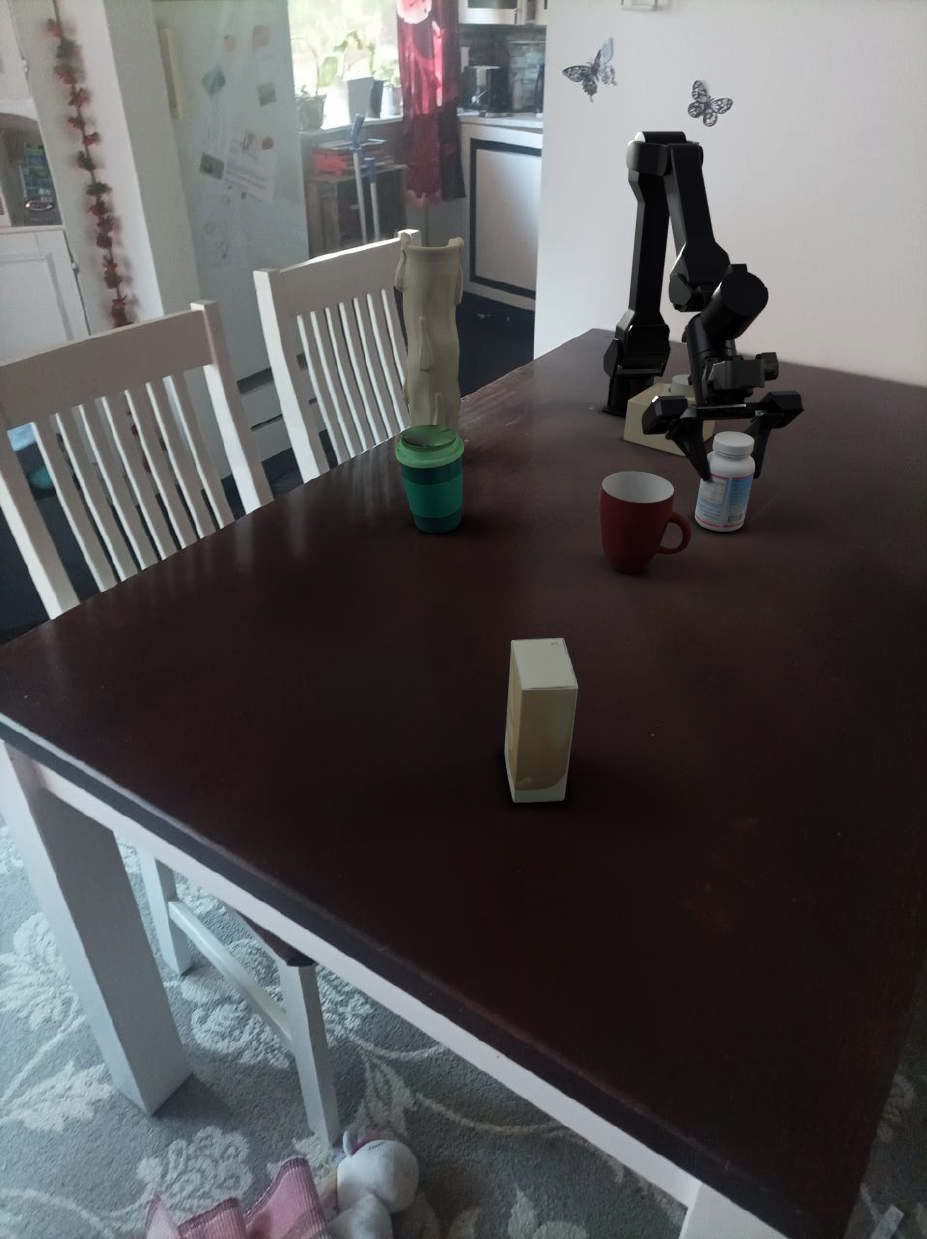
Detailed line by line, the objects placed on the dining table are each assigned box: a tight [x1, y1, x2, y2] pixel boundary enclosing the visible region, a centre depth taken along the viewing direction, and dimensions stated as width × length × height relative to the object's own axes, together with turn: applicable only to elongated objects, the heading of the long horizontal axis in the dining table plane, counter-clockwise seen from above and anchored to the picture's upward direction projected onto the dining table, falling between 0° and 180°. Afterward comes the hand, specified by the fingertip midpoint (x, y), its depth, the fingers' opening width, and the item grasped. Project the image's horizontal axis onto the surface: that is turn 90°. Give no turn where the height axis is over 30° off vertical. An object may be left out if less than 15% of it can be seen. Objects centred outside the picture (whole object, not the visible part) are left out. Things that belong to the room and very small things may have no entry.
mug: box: [598, 470, 692, 574], centre depth 98 cm, size 10×8×10 cm
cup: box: [395, 425, 465, 535], centre depth 105 cm, size 8×8×12 cm
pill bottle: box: [694, 430, 755, 533], centre depth 107 cm, size 6×6×11 cm
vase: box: [394, 231, 465, 436], centre depth 117 cm, size 9×8×30 cm
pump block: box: [623, 381, 716, 457], centre depth 130 cm, size 11×10×8 cm
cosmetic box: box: [504, 637, 579, 804], centre depth 69 cm, size 6×4×12 cm
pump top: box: [670, 374, 695, 398], centre depth 125 cm, size 4×4×2 cm
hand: (731, 479), depth 105 cm, fingers closed on pill bottle, 6 cm apart
